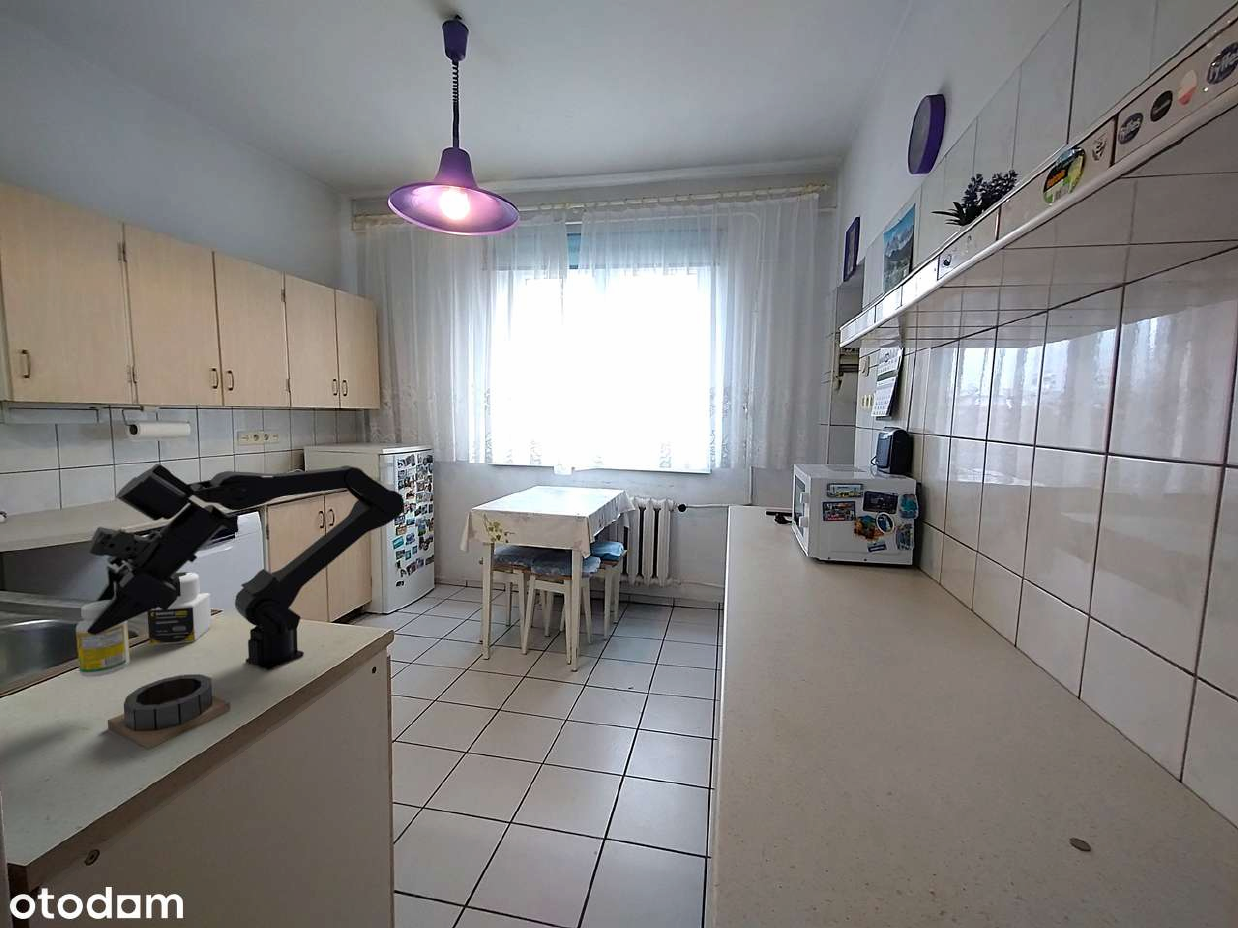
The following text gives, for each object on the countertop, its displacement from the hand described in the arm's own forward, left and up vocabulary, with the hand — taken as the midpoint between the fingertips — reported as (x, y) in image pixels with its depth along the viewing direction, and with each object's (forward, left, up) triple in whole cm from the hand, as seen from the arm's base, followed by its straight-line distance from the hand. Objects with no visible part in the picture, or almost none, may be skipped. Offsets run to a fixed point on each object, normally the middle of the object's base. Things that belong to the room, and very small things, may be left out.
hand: (88, 627), depth 76 cm
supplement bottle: (-1, 0, -7) cm, 7 cm away
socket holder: (-4, +11, -13) cm, 17 cm away
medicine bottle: (-20, -17, -13) cm, 29 cm away
